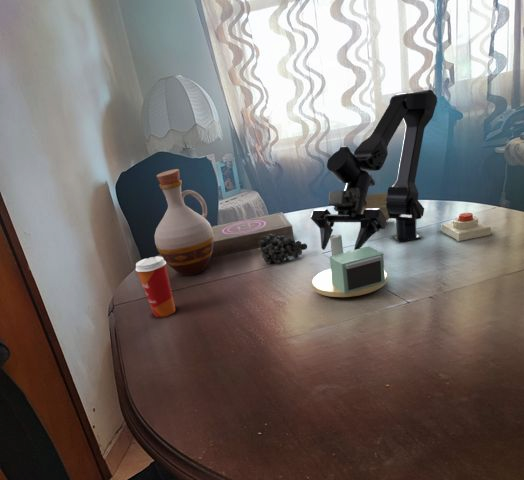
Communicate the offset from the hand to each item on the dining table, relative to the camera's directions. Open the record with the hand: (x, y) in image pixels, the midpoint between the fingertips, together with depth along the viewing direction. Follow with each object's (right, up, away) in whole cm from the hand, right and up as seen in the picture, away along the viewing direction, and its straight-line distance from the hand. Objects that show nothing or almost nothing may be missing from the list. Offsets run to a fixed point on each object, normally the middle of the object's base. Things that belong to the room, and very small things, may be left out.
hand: (338, 249), depth 116 cm
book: (-25, +14, +50) cm, 58 cm away
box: (+39, +9, +18) cm, 44 cm away
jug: (-41, 0, +31) cm, 51 cm away
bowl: (+20, +18, +42) cm, 50 cm away
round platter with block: (+2, -8, -2) cm, 9 cm away
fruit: (-12, +2, +24) cm, 27 cm away
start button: (+39, +12, +16) cm, 44 cm away
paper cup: (-44, -16, +4) cm, 47 cm away
